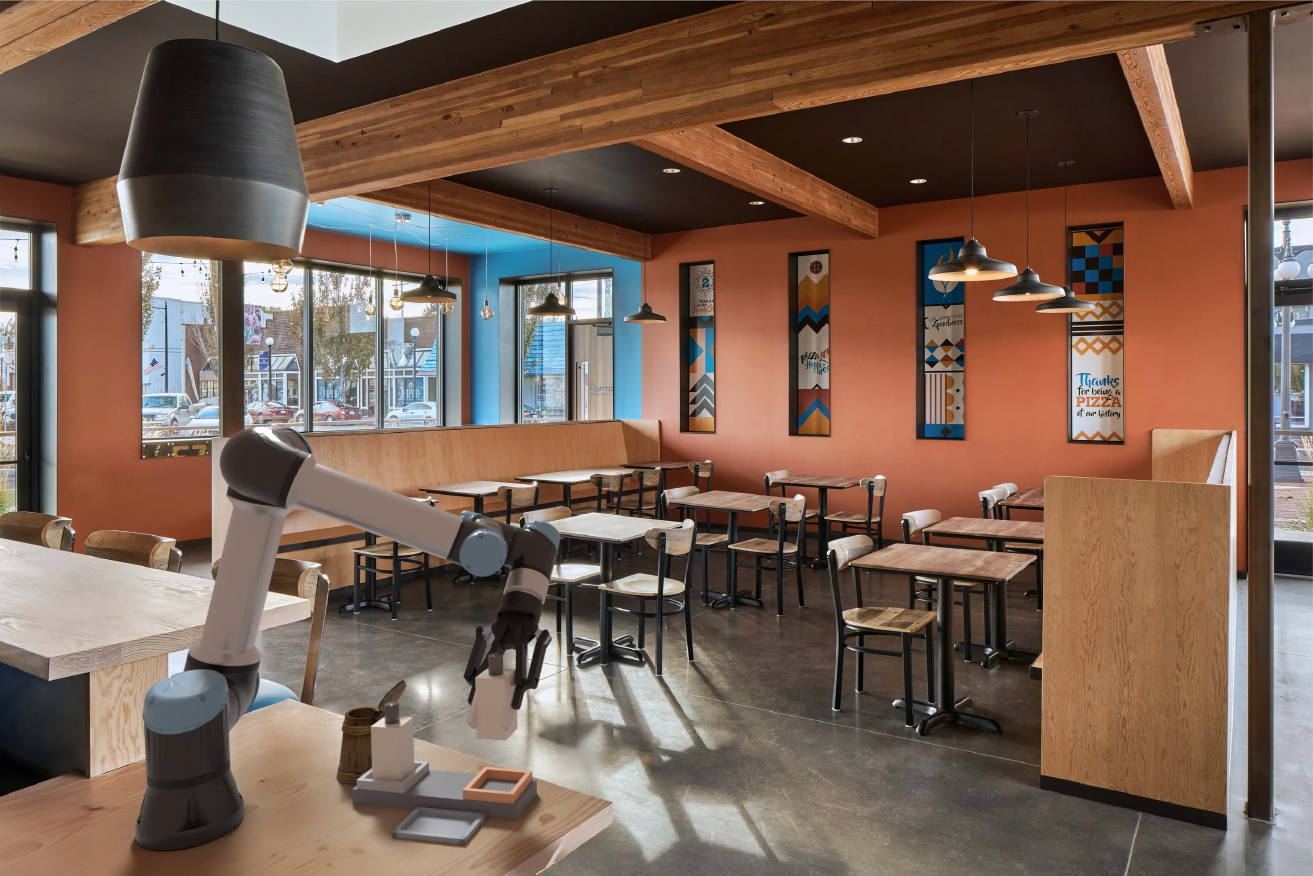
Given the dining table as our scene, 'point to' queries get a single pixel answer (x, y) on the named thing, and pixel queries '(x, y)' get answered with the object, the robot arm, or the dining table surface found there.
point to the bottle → (493, 699)
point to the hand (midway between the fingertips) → (487, 726)
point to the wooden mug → (361, 737)
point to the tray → (439, 825)
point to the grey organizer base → (452, 791)
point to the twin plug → (392, 745)
